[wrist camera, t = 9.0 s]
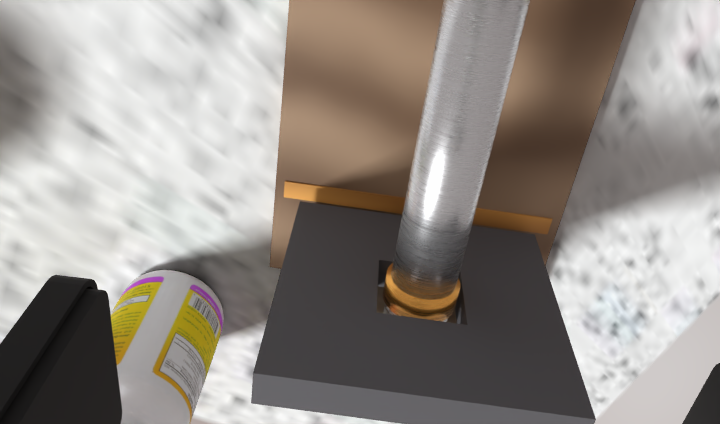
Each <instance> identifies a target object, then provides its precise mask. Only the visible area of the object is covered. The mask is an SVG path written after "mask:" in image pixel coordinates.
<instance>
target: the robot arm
mask: <svg viewBox="0 0 720 424" xmlns="http://www.w3.org/2000/svg"><path fill="white" fill-rule="evenodd" d="M121 420H122V404H121V396H120V388H119V379H118V371H117V363H116V355H115V347H114V339H113V331H112V323H111V315H110V307H109V299H108V294H107V292H106V291H104V290H98V289H97V284H96V283H95V281H94V280H92V279H85V278H77V277H68V276H60V275H54V276H52V277H50V278H49V280H48V281H47V282H46V283H45V284H44V286H43V287H42V288H41V290H40V291H39V293H38V294H37V295H36V297H35V298H34V299H33V301H32V302H31V303H30V305H29V306H28V307H27V309H26V310H25V311H24V313H23V314H22V316H21V317H20V318H19V320H18V321H17V322H16V324H15V325H14V326H13V328H12V329H11V330H10V332H9V333H8V334H7V336H6V337H5V339H4V340H3V341H2V343H1V344H0V424H121ZM682 424H720V363H719V364H717V365H716V366H715V367H714V368H713V370H712V371H711V373H710V375H709V377H708V379H707V380H706V382H705V384H704V386H703V388H702V390H701V392H700V393H699V395H698V397H697V398H696V400H695V402H694V404H693V406H692V407H691V409H690V411H689V413H688V415H687V416H686V418H685V420H684V422H683V423H682Z"/></svg>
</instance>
